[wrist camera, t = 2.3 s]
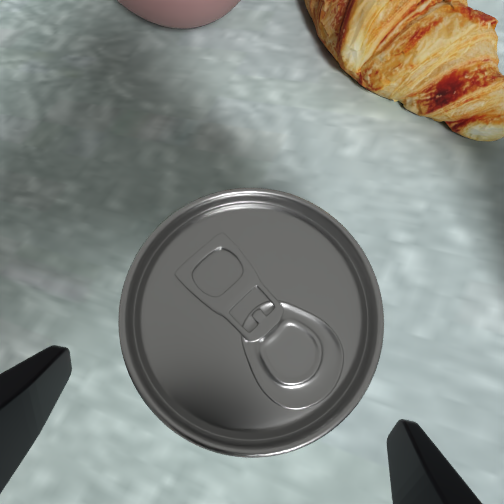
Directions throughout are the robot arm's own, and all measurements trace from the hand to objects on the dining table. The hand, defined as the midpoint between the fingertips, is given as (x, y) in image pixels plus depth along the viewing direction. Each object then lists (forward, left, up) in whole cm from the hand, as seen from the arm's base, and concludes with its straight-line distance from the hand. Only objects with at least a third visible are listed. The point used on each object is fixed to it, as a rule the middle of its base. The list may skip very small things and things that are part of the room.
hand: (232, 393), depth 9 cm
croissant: (+24, +8, -10) cm, 27 cm away
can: (+2, +1, -10) cm, 10 cm away
